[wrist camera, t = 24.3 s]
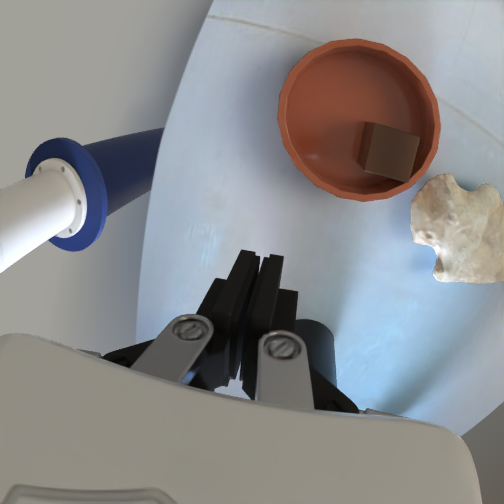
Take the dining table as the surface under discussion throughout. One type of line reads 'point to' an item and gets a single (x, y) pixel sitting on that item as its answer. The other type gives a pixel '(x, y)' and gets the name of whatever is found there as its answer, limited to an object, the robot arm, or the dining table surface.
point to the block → (387, 151)
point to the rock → (460, 230)
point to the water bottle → (318, 347)
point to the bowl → (355, 115)
